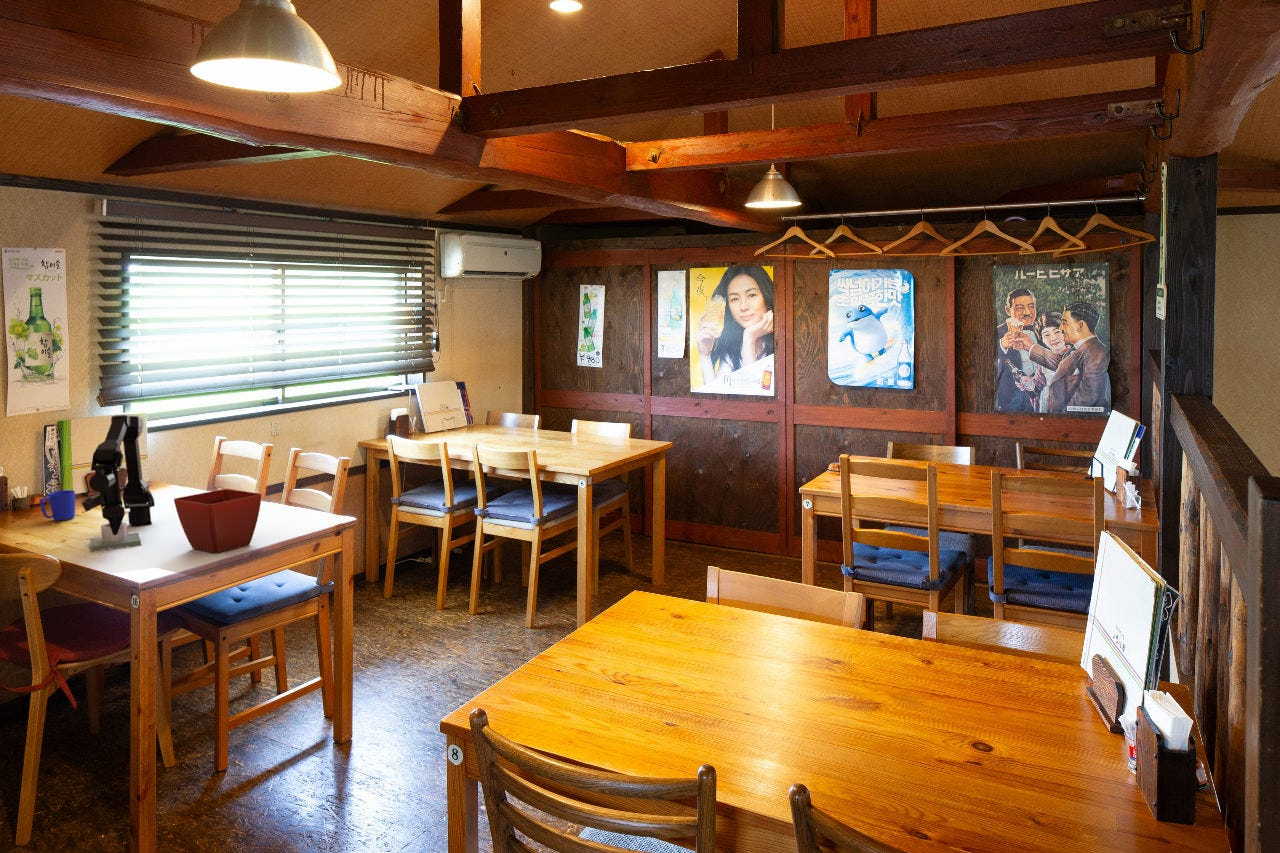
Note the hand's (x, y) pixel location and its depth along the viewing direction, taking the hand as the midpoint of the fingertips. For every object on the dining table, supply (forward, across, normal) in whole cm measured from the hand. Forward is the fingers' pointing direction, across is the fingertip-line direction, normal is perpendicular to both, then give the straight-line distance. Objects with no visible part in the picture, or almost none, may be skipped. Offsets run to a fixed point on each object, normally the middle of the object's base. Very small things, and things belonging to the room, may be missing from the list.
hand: (114, 532), depth 298 cm
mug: (+4, -50, -16) cm, 53 cm away
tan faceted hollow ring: (+2, 0, 0) cm, 3 cm away
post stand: (+4, 0, 0) cm, 4 cm away
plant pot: (+4, +23, +29) cm, 37 cm away
